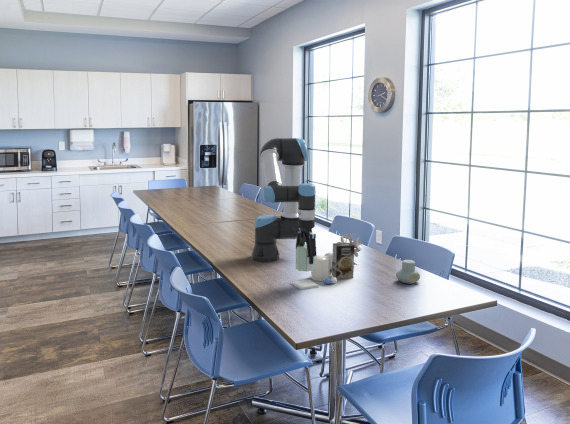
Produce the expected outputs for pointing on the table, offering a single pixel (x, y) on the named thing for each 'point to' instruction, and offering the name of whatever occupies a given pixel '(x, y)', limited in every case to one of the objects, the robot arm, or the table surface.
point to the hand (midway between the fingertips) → (305, 268)
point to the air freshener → (408, 272)
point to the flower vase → (345, 242)
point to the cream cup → (321, 268)
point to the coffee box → (343, 260)
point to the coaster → (305, 284)
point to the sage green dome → (302, 258)
